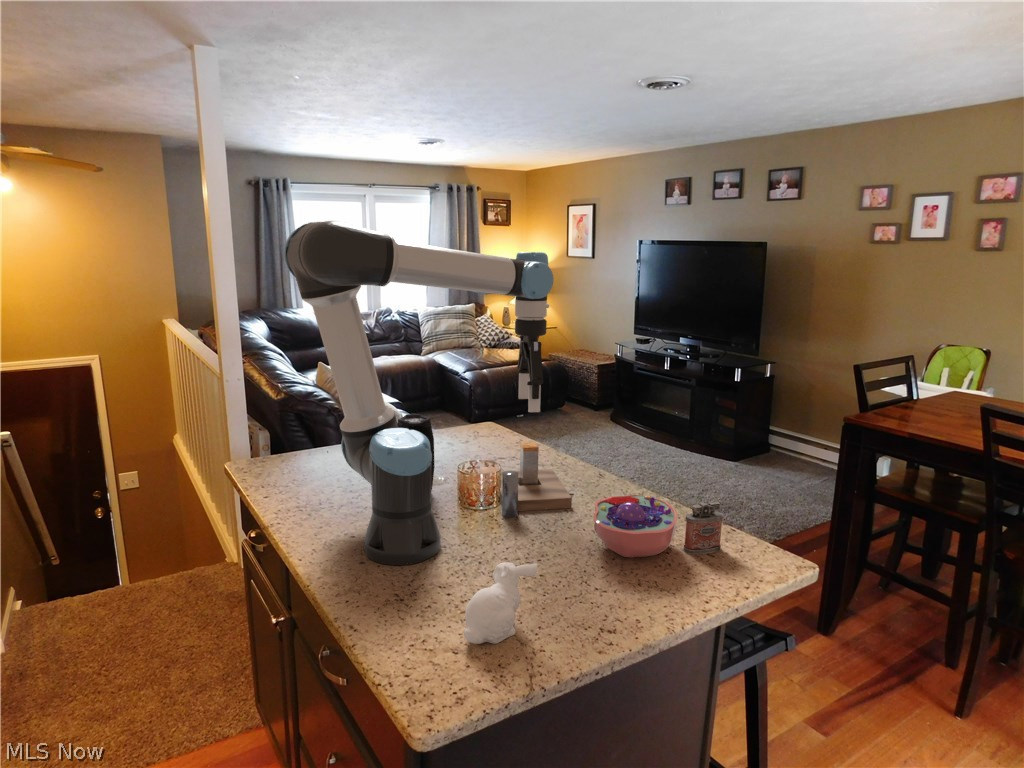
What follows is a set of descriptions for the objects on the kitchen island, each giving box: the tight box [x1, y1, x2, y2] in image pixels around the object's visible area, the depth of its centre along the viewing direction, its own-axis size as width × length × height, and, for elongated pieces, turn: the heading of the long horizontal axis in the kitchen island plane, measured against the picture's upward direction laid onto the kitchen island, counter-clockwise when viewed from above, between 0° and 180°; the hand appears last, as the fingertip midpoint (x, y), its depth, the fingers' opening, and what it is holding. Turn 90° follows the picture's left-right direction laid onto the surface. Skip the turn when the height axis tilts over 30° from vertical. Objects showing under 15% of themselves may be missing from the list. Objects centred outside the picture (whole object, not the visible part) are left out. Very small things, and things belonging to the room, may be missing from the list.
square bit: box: [519, 442, 540, 486], centre depth 155 cm, size 4×4×12 cm
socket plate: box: [499, 468, 573, 512], centre depth 155 cm, size 20×16×2 cm
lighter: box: [682, 501, 724, 555], centre depth 126 cm, size 8×3×10 cm, turn 105°
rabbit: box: [463, 561, 538, 645], centre depth 97 cm, size 12×9×12 cm
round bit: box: [501, 470, 519, 519], centre depth 141 cm, size 4×4×10 cm
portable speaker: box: [397, 413, 435, 492], centre depth 151 cm, size 9×9×20 cm
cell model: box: [593, 494, 678, 558], centre depth 125 cm, size 17×20×11 cm
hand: (528, 405), depth 152 cm, fingers open, 13 cm apart
